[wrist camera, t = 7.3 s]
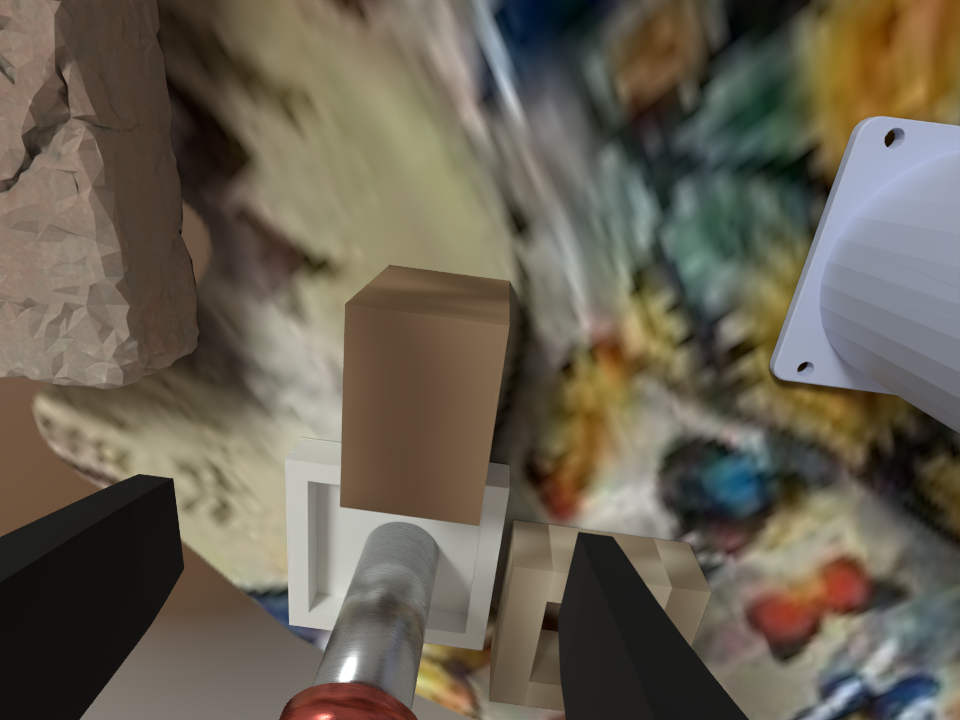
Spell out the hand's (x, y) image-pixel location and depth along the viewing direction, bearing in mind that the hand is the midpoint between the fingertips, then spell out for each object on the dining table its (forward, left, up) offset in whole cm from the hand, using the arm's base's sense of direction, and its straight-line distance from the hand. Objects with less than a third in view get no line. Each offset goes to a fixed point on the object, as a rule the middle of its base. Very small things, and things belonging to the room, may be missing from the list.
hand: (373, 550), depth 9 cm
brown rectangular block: (0, 0, -10) cm, 10 cm away
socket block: (-7, +10, -10) cm, 15 cm away
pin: (+1, +8, -9) cm, 12 cm away
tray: (+1, +8, -10) cm, 12 cm away
